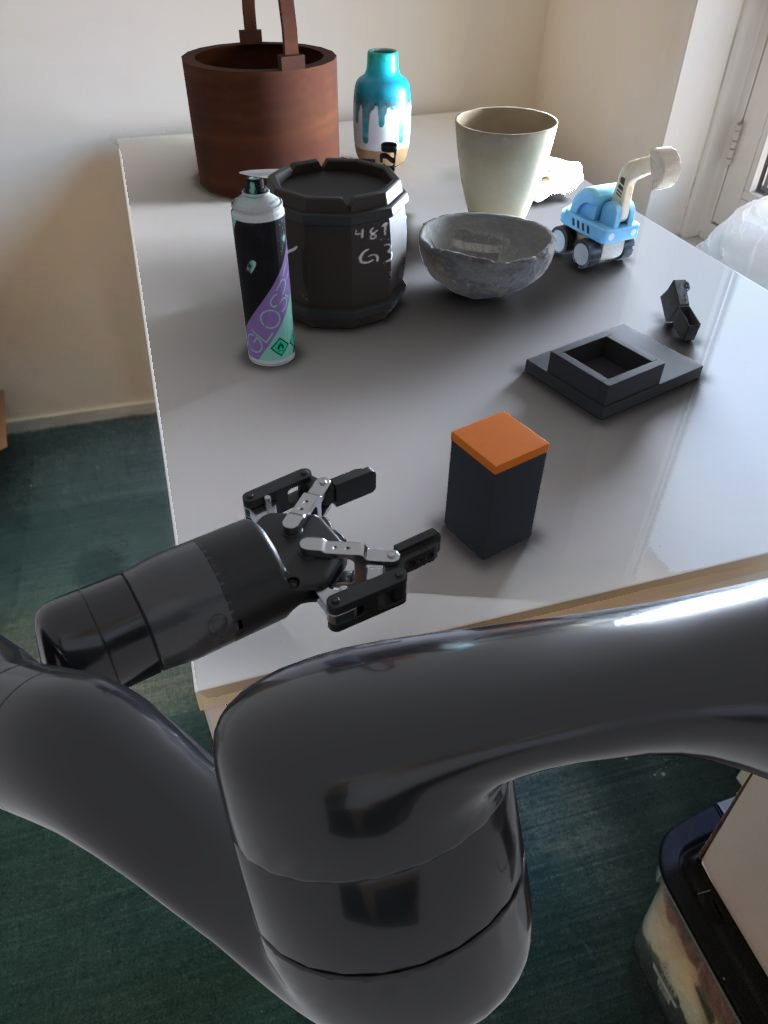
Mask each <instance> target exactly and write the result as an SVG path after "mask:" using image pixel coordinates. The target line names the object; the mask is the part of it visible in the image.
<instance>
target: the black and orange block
mask: <svg viewBox="0 0 768 1024" xmlns="http://www.w3.org/2000/svg"><path fill="white" fill-rule="evenodd" d="M450 440H451V442H450V454H449V465H448V478H447V487H446V499H445V512H444V522H443V524H444V525H445V526H446V527H447V529H448V530H450V531H451V532H452V533H453V534H454V535H455V536H456V537H457V538H459V539H460V540H461V541H462V543H464V545H466V546H467V547H468V548H469V549H470V550H471V551H473V553H475V554H476V555H477V556H478V557H479V558H480V559H481V561H484V560H486V559H488V558H490V557H492V556H494V555H496V554H498V553H500V552H502V551H504V550H506V549H508V548H510V547H512V546H514V545H516V544H518V543H520V542H522V541H524V540H527V539H528V538H530V537H532V531H533V527H534V526H533V525H534V522H535V518H536V517H535V516H536V511H537V506H538V501H539V496H540V491H541V486H542V481H543V475H544V471H545V465H546V461H547V455H548V452H549V450H550V445H551V444H550V443H549V442H548V441H547V440H546V439H544V438H543V437H541V436H540V435H538V434H537V433H536V432H534V431H533V430H532V429H530V428H529V427H527V426H526V425H524V424H523V423H522V422H521V421H519V420H518V419H517V418H515V417H514V416H512V415H510V414H509V413H508V412H506V411H505V410H502V411H499V412H496V413H495V414H492V415H490V416H487V417H485V418H482V419H480V420H477V421H474V422H471V423H469V424H466V425H464V426H462V427H458V428H457V429H454V430H451V434H450Z"/></svg>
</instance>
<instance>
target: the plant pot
mask: <svg viewBox="0 0 768 1024" xmlns="http://www.w3.org/2000/svg"><path fill="white" fill-rule="evenodd" d="M454 120H455V121H454V123H455V125H454V126H455V138H456V150H457V160H458V167H459V175H460V180H461V186H462V191H463V195H464V200H465V204H466V208H467V212H478V213H495V214H505V215H510V216H515V217H520V218H523V219H526V216H527V215H528V212H529V210H530V208H531V206H532V204H533V202H534V201H533V199H534V197H535V194H536V192H537V189H538V187H539V184H540V182H541V179H542V176H543V173H544V170H545V167H546V164H547V161H548V158H549V156H551V151H552V148H553V145H554V140H555V137H556V133H557V129H558V125H559V120H558V118H557V117H556V116H554V115H552V114H551V113H548V112H545V111H543V110H542V111H541V110H539V109H534V108H526V107H519V106H484V107H476V108H470V109H467V110H464V111H461V112H460V113H458V114H457V115H456V116H455V119H454Z"/></svg>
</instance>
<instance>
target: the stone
mask: <svg viewBox="0 0 768 1024" xmlns="http://www.w3.org/2000/svg"><path fill="white" fill-rule="evenodd" d="M584 180H585V175H584V173H583V165H582V164H581V162H579V161H570V160H565V159H562V158H560V157H556V156H555V157H554V156H552V155H549V158H548V161H547V164H546V167H545V170H544V173H543V176H542V179H541V182H540V184H539V187H538V189H537V192H536V194H535V197H534V199H533V201H532V202H536V203H540V202H543V201H544V200H545V199H547V198H548V197H551V196H555V195H556V194H557V195H559V194H562V195H567V194H566V193H569V192H570V193H572V192H574V191H575V190H576V189H577V188H578V187H579V185H580V184H581V183H582V182H583V183H584ZM574 189H575V190H574ZM573 190H574V191H573ZM571 191H572V192H571ZM570 193H569V194H570ZM552 194H554V195H552ZM550 195H551V196H550Z"/></svg>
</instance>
